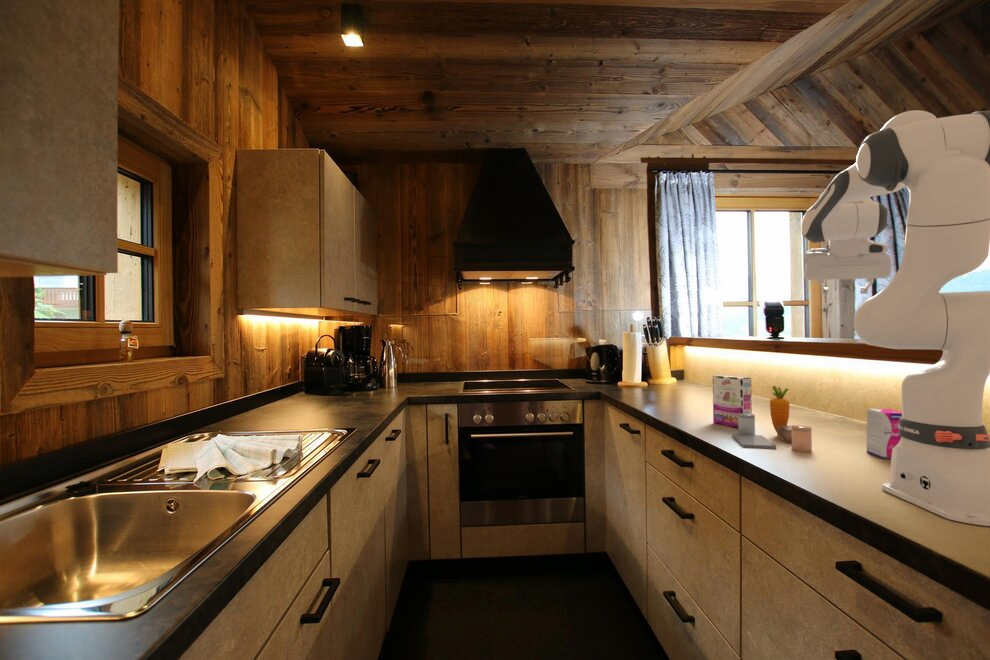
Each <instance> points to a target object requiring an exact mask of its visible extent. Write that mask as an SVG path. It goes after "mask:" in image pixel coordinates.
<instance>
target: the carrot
mask: <svg viewBox="0 0 990 660" xmlns="http://www.w3.org/2000/svg"><path fill="white" fill-rule="evenodd" d="M772 390H773V392H772V395H773V396H775V397H773V398H771V399H770V401H769V405H770V406H769V409H770V418H771V422H772V425H773V429H774V430H775V432H776V433H777V426H788V421H789V418H790V401H789V399H787V398H785V397H784V396H785V395H786V394H787V392H788V391H789V388H787V387H786V388H784V390H782V388H781V387H777V386H776V385H772Z"/></svg>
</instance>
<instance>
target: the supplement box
mask: <svg viewBox="0 0 990 660" xmlns="http://www.w3.org/2000/svg"><path fill="white" fill-rule="evenodd" d="M900 417H902V411H899V410H895V409H893V408H867V409H866V453H867V452H868V453H867V454H869V453H870V454H869V455H871V454H873V455H872V456H874V455H875V456H874V457H877V456H878V457H877V458H879V457H880V458H879V459H882V458H886V459H887V458H891V457H892V450H893V448H894V447H895V446H896V445H897V444H898V443H899V441H900V439H901V436H900V435H899V428H898V424H899V418H900Z"/></svg>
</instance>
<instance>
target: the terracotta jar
mask: <svg viewBox="0 0 990 660" xmlns="http://www.w3.org/2000/svg"><path fill="white" fill-rule="evenodd" d="M790 426H791V427H792V444H791V450H792V451H795V452H798V453H812V452H813V440H812V438H813V437H812V435H813V434H812V432H813V431H812V429H813V428H812V426H809V425H801V424H793V425H790Z"/></svg>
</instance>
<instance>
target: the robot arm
mask: <svg viewBox="0 0 990 660" xmlns="http://www.w3.org/2000/svg"><path fill="white" fill-rule="evenodd" d="M855 159H856V160H855V161H856V162H855V163H854V164H853V165H851V166H849V167H848V168H846V169H844V170H843V171H840V172H839V173H837V175H836V176H834V178H833V179H832V181H831V182H830V183H829V184H828V186H827V187H826V188H825V190H824V191H823V192H822V193H821V195H820V196H819V198H818V199H816V202H815V203H814V204H813V205H812V206H811V207H810V208H808V209H807V210H806V212H805V213H804V215H803V216H802V220H801V224H800V227H801V228H800V229H801V230H800V231H801V236H802V237H804V238H805V239H806V240H807V241H809V242H811V243H812V244H816V243H817V244H818V243H823V242H829V243H828V247H825V248H824V247H823V248H811V249H809V250H806V252H805V253H804V255H803V262H804V264H805V266H804V272H803V277H804V279H806V280H807V281H813V280H814V281H816V280H817V282H816V283H818V285H819V287H820V288H821V290H820V291H821V292H820V293H821V295H828V294H829V293H828V291H829V287H825V286H824V285H823V284H824V283H825V280H826V281H827V280H861V279H862V280H866V283H865V285H864V286H860V290H859V291H860V292H859V293H860V295H865V294H866V295H868V293H869V289H870V287H871V286H872V285H873V283H874V282H875V279H888V277H889V278H890V276H891V273H892V259H891V256H890V255H889V254H888V253H887V252H888V251H889V246H888V244H886V243H883V242H879V241H876V240H869V239H870V238H875V237H877V236H878V235H880V233H882V232H883V231H884V230H885V229H886V228H887V222H888V214H889V213H888V212H889V211H888V208H886V206H885V205H883V204H882V203H880V202H879V201H875V200H873V199H872V198H871V197H877V196H884V195H887V194H892V193H895V192H898V191H900V190H902V189H904V188H907V190H908V192H909V193H908V194H909V200H908V207H907V214H906V225H905V226H906V227H905V239H904V247H903V253H902V259H901V263H900V265H899V268H898V270H897V271H896V274H895V275H894V276H893V277H892V279H891V280H890V282H888V283H887V284H886V285H885V287H884V288H882V289H881V290H880V291H879V292H878V293H876V294H875V295H873V296H871V297H870V298H867V299H866V300H864V301H863V302H862V303H861V304H860V305H859V306H858V308H857V309H856V311H855V314H854V317H853V327H854V331H855V333H856V335H857V336H858V337H859V338H860V340H862V342H864V344H866V345H868V346H873V347H881V348H886V349H893V350H939V351H942V355H941V357H940V359H939V360H938V361H937V362H936V363H934V364H932V365H929V366H926V367H923V368H920V369H917V370H915V371H913V372H911V373H909V374H908V375H906V376H905V378H904V379H903V380H902V383H901V412H902V417H900V418H899V424H898V428H899V435H900V436H901V439H900V441H899V443H898V444H897V445H896V446H895V447H894V448H893V450H892V457H891V459H890V469H889V481H888V482H885V483H883V484H882V486H881V487H882V488H881V489H882V491H885V492H887V493H889V494H891V495H894V496H896V497H898V498H900V499H902V500H905V501H906V502H909V503H912V504H913V505H915V506H918V507H920V508H922V509H925V510H926V511H929V512H931V513H932V514H936V515H938V516H941V517H943V518H945V519H947V520H951V521H955V522H959V523H964V524H969V525H970V524H971V525H972V524H973V525H976V526H984V527H985V526H986V527H990V434H989V433H988V432H987V428H986V426H985V425H984V424H983V401H984V392H985V387H986V383H987V382H986V381H987V380H988V377H989V376H990V290H979V291H956V292H955V291H954V292H953V291H952V292H951V291H950V292H940V291H941V289H942V288H944V286H946V285H947V283H949V282H951V281H952V280H954V279H956V278H959V277H962V276H964V275H967V274H969V273H971V272H973V271H975V270H976V269H978V268H979V267H980V266H981V265H982V264H983V263H984V262H985V261H986V260H987V258H988V256H989V253H990V252H989V251H990V110H977V111H974V112H972V113H968V114H967V113H966V114H958V115H949V116H943V117H938V118H937V117H936V115H934V113H932V112H929V111H925V110H920V109H919V110H917V109H915V110H908V111H904V112H901V113H899V114H897V115H896V114H895V116H893V117H892V118H890V119H889V120H888V121H887V122H885V124H884V125H883V126H882V128H881V129H880V130H879V131H878V130H877V131H876V132H873V133H870V134H869V135H867V136H866V137H865V138H864V139H863V141H862V142H861V144H860V145H859V148H858V153H857V155H856V158H855Z"/></svg>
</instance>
